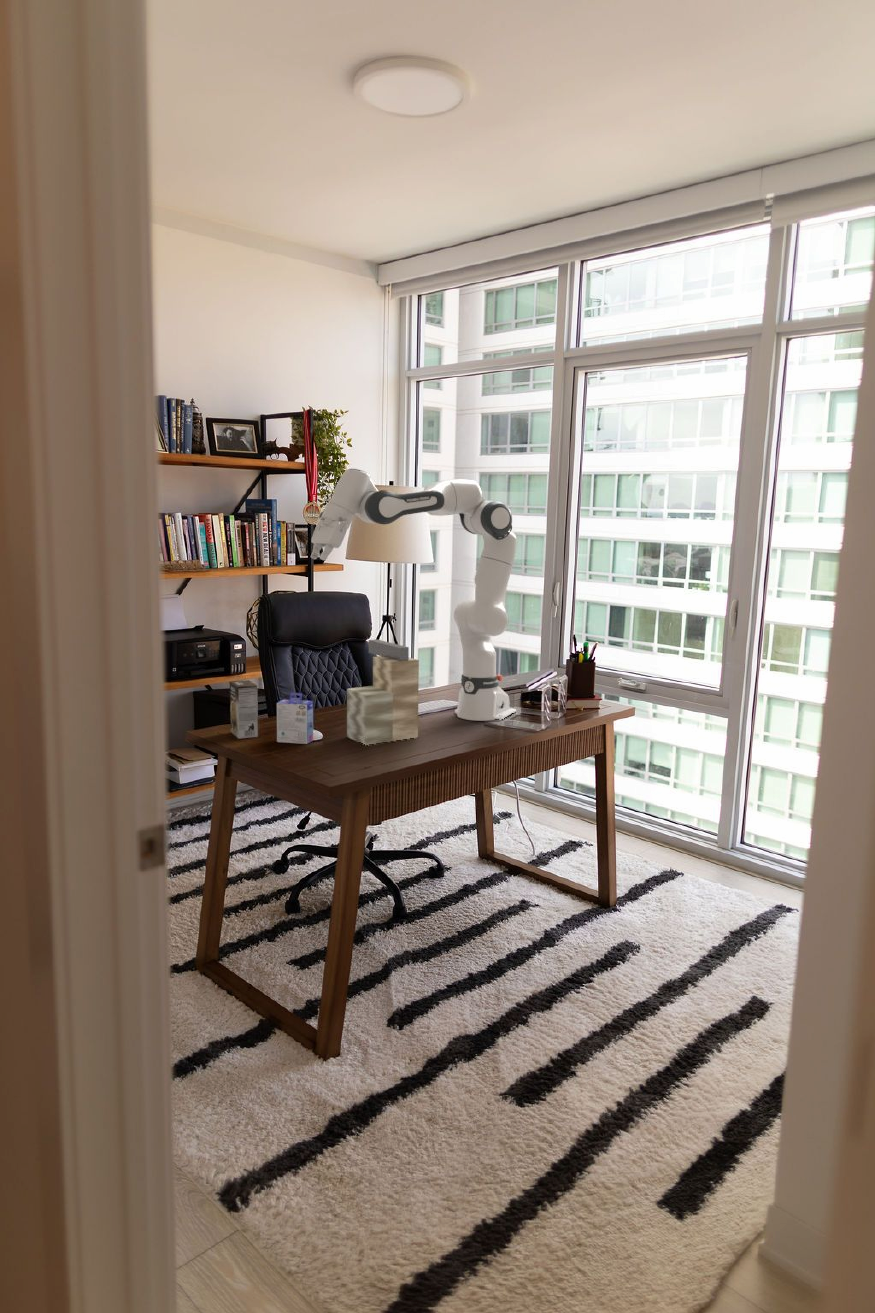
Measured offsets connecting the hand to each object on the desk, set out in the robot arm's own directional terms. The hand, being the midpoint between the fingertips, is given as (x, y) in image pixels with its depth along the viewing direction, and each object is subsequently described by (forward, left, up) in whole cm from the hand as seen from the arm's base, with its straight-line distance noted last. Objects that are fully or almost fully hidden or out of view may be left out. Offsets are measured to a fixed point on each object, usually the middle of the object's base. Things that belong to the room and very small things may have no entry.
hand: (317, 559), depth 270 cm
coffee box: (+17, -15, -54) cm, 58 cm away
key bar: (-13, +17, -29) cm, 36 cm away
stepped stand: (-7, +20, -53) cm, 58 cm away
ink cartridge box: (+13, +3, -54) cm, 55 cm away
